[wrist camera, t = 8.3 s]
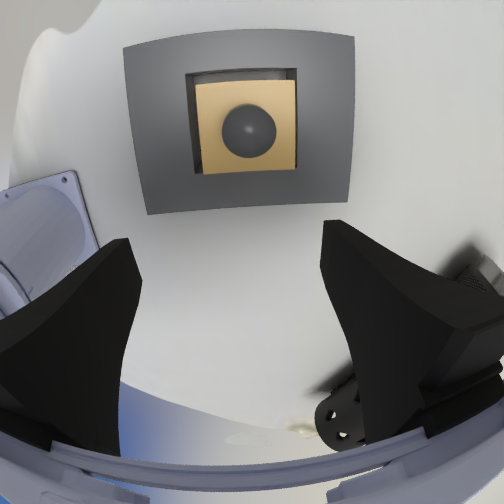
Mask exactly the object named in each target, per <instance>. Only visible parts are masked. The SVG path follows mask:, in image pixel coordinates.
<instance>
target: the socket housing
mask: <svg viewBox="0 0 504 504" xmlns="http://www.w3.org/2000/svg"><path fill="white" fill-rule="evenodd" d="M123 56H124V70H125V81H126V91H127V100H128V108H129V116H130V123H131V130H132V137H133V143H134V149H135V155H136V161H137V166H138V172H139V177H140V182H141V187H142V192H143V197H144V201H145V206H146V210H147V215H153V214H162V213H173V212H183V211H195V210H207V209H219V208H233V207H248V206H265V205H284V204H307V203H338V202H347V201H348V192H349V183H350V172H351V160H352V147H353V131H354V108H355V41H354V36H348V35H341V34H334V33H326V32H316V31H304V30H287V29H243V30H225V31H213V32H204V33H195V34H188V35H181V36H175V37H170V38H164V39H159V40H154V41H149V42H145V43H141V44H137V45H133V46H129V47H125V48H123ZM258 70H286V71H287V80H295V169H290V170H263V171H244V172H229V173H216V174H205V175H204V173H203V164H202V160H201V158H200V148H199V138H198V128H197V117H196V106H195V94H194V81H193V75H201V74H210V73H221V72H235V71H258Z"/></svg>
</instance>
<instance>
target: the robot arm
mask: <svg viewBox="0 0 504 504" xmlns="http://www.w3.org/2000/svg"><path fill="white" fill-rule="evenodd" d="M64 177H66V179H67V181H65V180H64ZM8 195H9V196H8ZM78 265H79V266H78ZM72 266H78V267H77V268H76V269H75V270H73V271H72V272H71V273H69V274H68V275H67V273H68V272H69V270H70V268H71V267H72ZM320 269H321V273H322V277H323V281H324V284H325V288H326V290H327V293H328V295H329V298H330V300H331V303H332V305H333V307H334V310H335V312H336V315H337V317H338V319H339V322H340V324H341V327H342V329H343V332H344V334H345V337H346V340H347V343H348V346H349V350H350V354H351V358H352V362H353V366H354V370H355V375H356V379H357V384H358V389H359V395H360V401H361V407H362V414H363V422H364V431H365V443H366V445H365V446H362V447H358V448H354V449H350V450H346V451H342V452H337V453H333V454H328V455H323V456H318V457H312V458H306V459H300V460H293V461H285V462H276V463H266V464H254V465H232V466H200V465H180V464H179V465H178V464H166V463H156V462H148V461H141V460H134V459H128V458H121V455H120V447H119V431H118V401H119V400H118V399H119V386H120V376H121V368H122V361H123V356H124V352H125V348H126V344H127V341H128V337H129V334H130V330H131V327H132V324H133V321H134V317H135V314H136V310H137V307H138V304H139V299H140V293H141V287H142V278H141V275H140V272H139V269H138V267H137V264H136V261H135V258H134V255H133V252H132V249H131V245H130V242H129V239H128V238H122V239H114V240H112V241H111V242H109V243H107V244H106V245H105V246H103V247H102V248H101V249H99V248H98V245H97V242H96V239H95V236H94V233H93V230H92V227H91V224H90V221H89V218H88V215H87V212H86V208H85V205H84V201H83V198H82V194H81V191H80V187H79V183H78V179H77V175H76V173H75V172H73V171H68V172H64V173H60V174H56V175H52V176H49V177H45V178H41V179H38V180H35V181H31V182H28V183H25V184H21V185H18V186H15V187H12V188H9V189H6V190H3V191H1V192H0V495H1V496H3V497H4V498H5V499H6V500H7V501H9V502H10V503H11V504H150V498H149V497H148V496H147V495H143V494H139V493H136V492H133V491H130V490H127V489H124V488H122V487H120V486H118V485H116V484H113V483H109V482H106V481H102V480H99V479H96V478H94V477H93V476H92V475H96V476H100V477H103V478H108V479H112V480H116V481H121V482H126V483H131V484H136V485H143V486H149V487H156V488H164V489H173V490H185V491H202V492H243V491H260V490H272V489H282V488H290V487H297V486H303V485H310V484H315V483H320V482H326V481H330V480H335V479H339V478H344V477H348V476H352V475H355V474H359V473H363V472H366V471H369V470H373V469H376V468H379V467H382V466H383V467H382V468H380V469H378V470H375V471H372V472H369V473H367V474H364V475H361V476H358V477H355V478H352V479H349V480H346V481H342V482H341V483H340V485H339V486H338V487H336V488H334V489H331V490H329V491H327V493H326V496H327V501H328V503H327V504H464V503H465V502H466V501H468V500H469V499H470V498H472V497H473V496H474V495H476V494H477V493H478V492H479V491H480V490H482V489H483V488H484V487H485V486H487V485H488V484H489V483H490V482H491V481H492V480H493V479H495V478H496V477H497V476H498V475H499V474H500V473H501V472H502V471H503V470H504V380H502V378H501V376H500V375H499V373H501V372H502V370H503V366H502V364H501V363H500V361H499V360H500V359H501V357H502V356H503V355H504V296H501V295H497V294H493V293H489V292H485V291H481V290H478V289H475V288H472V287H468V286H465V285H462V284H460V283H457V282H454V281H451V280H449V279H447V278H444V277H442V276H439V275H437V274H435V273H432V272H430V271H428V270H426V269H424V268H422V267H420V266H418V265H416V264H414V263H412V262H410V261H408V260H406V259H404V258H402V257H401V256H399V255H397V254H396V253H394V252H392V251H390V250H389V249H387V248H385V247H384V246H382V245H380V244H379V243H377V242H376V241H374V240H373V239H371V238H369V237H368V236H366V235H365V234H363V233H362V232H360V231H359V230H357V229H355V228H354V227H352V226H351V225H349V224H347V223H345V222H344V221H341V220H325V221H324V224H323V237H322V248H321V259H320ZM66 275H67V276H66ZM65 276H66V277H65ZM91 474H92V475H91Z"/></svg>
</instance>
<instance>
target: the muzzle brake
mask: <svg viewBox="0 0 504 504" xmlns="http://www.w3.org/2000/svg"><path fill="white" fill-rule="evenodd" d="M454 282H457V283H460V284H462V285H465V286H468V287H472V288H475V289H478V290H481V291H485V292H489V293H493V294H497V295H501V296H504V272H503V271H502V270H501V269H500V268H499V267H498V266H497V265H496V264H495V263H494V261H493V260H491V259H490V258H489V257H488V256H487V255H484V256H483V257H482V258H481V259H480V261H479V262H478V263H477V264H476V266H475V265H474V264H470V265H468V266H467V267H466V268H465V269H464V271H463V272H462V273H461V274H460V275H459V277H458V278H457V279H456V280H455V281H454ZM334 412H335V413H336V417H335V418H331V417H332V415H333V413H334ZM314 419H315V425H316V429H317V432H318V434H319V436H320V437H321V439H322V440H323V442H324V443H325V444H326V445H327V446H329V447H330V448H331V449H333V450H335V451H338V452H342V451H346V450H350V449H354V448H358V447H361V446H363V445H365V444H366V443H365V431H364V422H363V414H362V407H361V401H360V395H359V389H358V384H357V379H356V375H354V376H352V377H351V378H350V379H348V380H347V381H346V382H344V383H343V384H342V385H340V386H339V387H338V388H336V389H335V390H333V391H332V392H331V395H330V396H329V397H327V398H326V399H324V400H323V401H321V402H320V403H319V404H318V406H317V408H316V411H315V418H314ZM340 432H341V433H346V434H347V435H346V436H345V437H341V436H340Z"/></svg>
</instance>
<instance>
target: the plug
mask: <svg viewBox="0 0 504 504" xmlns="http://www.w3.org/2000/svg"><path fill="white" fill-rule="evenodd" d="M195 87H196V100H197V112H198V124H199V134H200V145H201V155H202V164H203V173H204V175H205V174H216V173H229V172H244V171H263V170H290V169H295V80H249V81H230V82H218V83H207V84H198V85H195Z"/></svg>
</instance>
